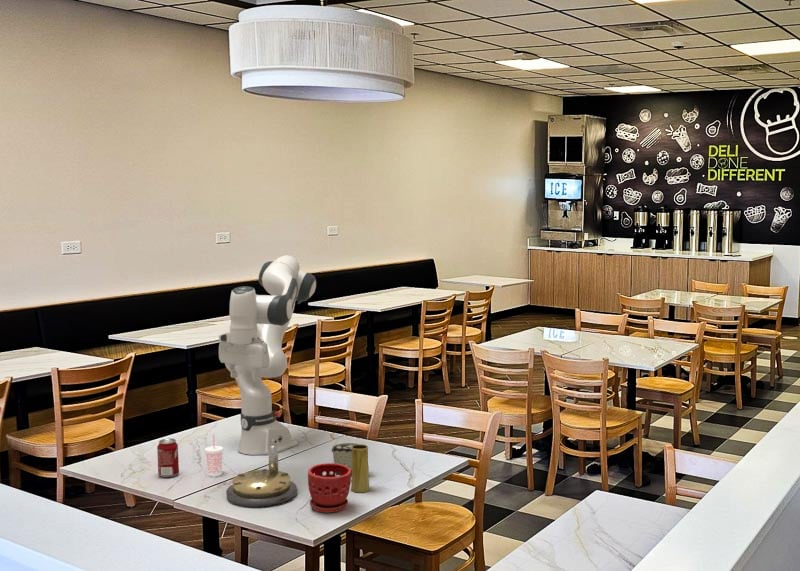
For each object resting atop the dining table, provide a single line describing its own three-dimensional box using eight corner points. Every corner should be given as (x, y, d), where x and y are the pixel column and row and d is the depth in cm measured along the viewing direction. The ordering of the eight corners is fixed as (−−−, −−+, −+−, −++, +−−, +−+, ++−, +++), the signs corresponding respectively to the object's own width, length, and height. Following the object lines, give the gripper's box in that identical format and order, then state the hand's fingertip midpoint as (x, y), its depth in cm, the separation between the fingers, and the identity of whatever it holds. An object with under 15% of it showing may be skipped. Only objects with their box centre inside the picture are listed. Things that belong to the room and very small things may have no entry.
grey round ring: (267, 478, 279) (267, 471, 278) (311, 493, 264) (311, 486, 264) (212, 496, 262) (212, 489, 262) (255, 513, 248) (255, 506, 247)
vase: (362, 494, 263) (362, 450, 262) (347, 490, 266) (346, 447, 265) (373, 488, 268) (373, 445, 267) (357, 485, 272) (357, 442, 270)
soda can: (173, 479, 279) (172, 444, 277) (154, 477, 280) (153, 443, 279) (182, 472, 285) (181, 438, 284) (164, 471, 286) (163, 437, 285)
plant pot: (306, 516, 246) (305, 476, 244) (310, 499, 259) (310, 462, 257) (350, 515, 246) (349, 476, 244) (352, 499, 259) (352, 462, 257)
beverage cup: (202, 476, 281) (200, 435, 280) (212, 470, 287) (210, 430, 286) (217, 478, 279) (216, 437, 278) (227, 472, 285) (226, 432, 284)
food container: (372, 472, 284) (371, 444, 283) (365, 478, 278) (365, 449, 277) (338, 469, 288) (338, 441, 287) (331, 474, 282) (331, 446, 281)
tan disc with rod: (268, 501, 251) (267, 463, 249) (220, 492, 259) (219, 455, 258) (301, 483, 267) (300, 447, 265) (256, 475, 275) (255, 440, 274)
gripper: (273, 338, 266) (274, 381, 267) (229, 333, 278) (230, 374, 279) (259, 341, 261) (260, 384, 262) (215, 335, 273) (215, 377, 274)
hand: (244, 379), depth 271 cm, fingers open, 8 cm apart
